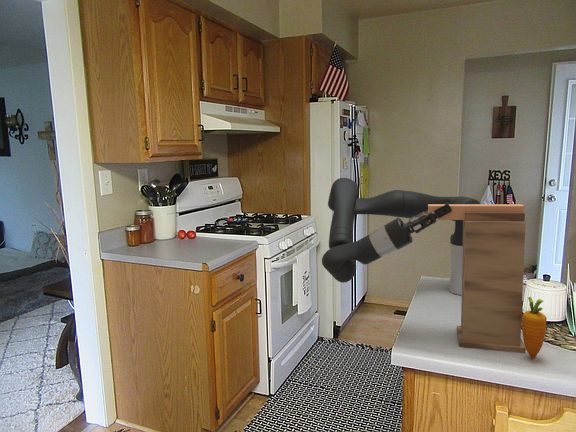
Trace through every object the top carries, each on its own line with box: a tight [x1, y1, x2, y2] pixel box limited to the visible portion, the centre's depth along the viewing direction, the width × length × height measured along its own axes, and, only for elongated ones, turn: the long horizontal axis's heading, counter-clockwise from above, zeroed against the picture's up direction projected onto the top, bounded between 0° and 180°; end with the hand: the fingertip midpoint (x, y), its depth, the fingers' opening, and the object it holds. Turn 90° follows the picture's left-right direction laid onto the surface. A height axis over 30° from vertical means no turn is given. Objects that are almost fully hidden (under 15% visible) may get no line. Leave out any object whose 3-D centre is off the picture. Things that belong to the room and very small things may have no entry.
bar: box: [428, 203, 525, 221], centre depth 108 cm, size 4×22×4 cm, turn 72°
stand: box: [456, 212, 527, 354], centre depth 109 cm, size 11×15×34 cm
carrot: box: [521, 296, 547, 359], centre depth 100 cm, size 5×5×15 cm
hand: (449, 206), depth 110 cm, fingers closed on bar, 3 cm apart
